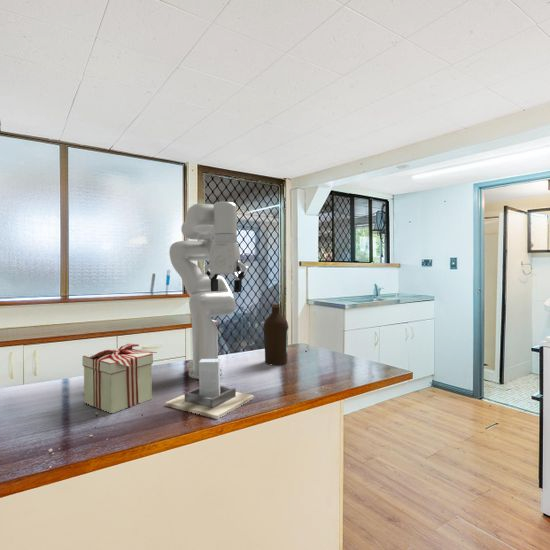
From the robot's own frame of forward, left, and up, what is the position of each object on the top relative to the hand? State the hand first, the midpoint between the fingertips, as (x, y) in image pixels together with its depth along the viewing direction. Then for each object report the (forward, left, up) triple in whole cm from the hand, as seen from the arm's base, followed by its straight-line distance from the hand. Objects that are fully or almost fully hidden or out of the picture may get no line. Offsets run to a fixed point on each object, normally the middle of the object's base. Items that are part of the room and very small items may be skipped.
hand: (226, 291), depth 128 cm
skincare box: (+2, -11, -32) cm, 34 cm away
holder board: (+2, -11, -33) cm, 35 cm away
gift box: (-22, -24, -34) cm, 47 cm away
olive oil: (-3, +38, -34) cm, 51 cm away
